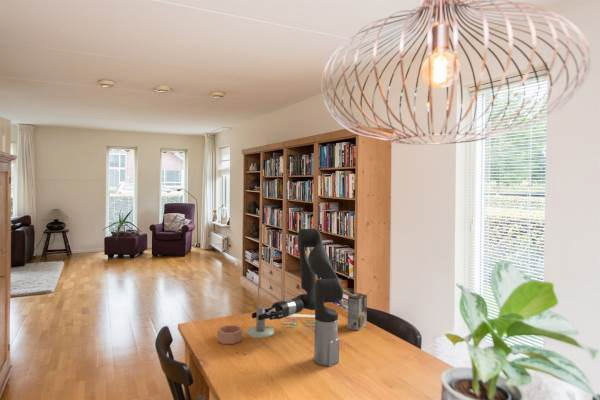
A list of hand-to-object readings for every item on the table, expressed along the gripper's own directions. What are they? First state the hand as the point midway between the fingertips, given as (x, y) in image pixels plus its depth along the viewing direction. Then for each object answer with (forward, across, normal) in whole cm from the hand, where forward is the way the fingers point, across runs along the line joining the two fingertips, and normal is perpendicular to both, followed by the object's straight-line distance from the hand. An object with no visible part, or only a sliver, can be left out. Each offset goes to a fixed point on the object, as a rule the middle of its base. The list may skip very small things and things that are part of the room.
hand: (255, 316), depth 172 cm
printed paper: (-36, -6, +14) cm, 39 cm away
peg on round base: (-3, 0, +8) cm, 8 cm away
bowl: (+3, -14, +13) cm, 20 cm away
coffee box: (-53, +16, +14) cm, 57 cm away
